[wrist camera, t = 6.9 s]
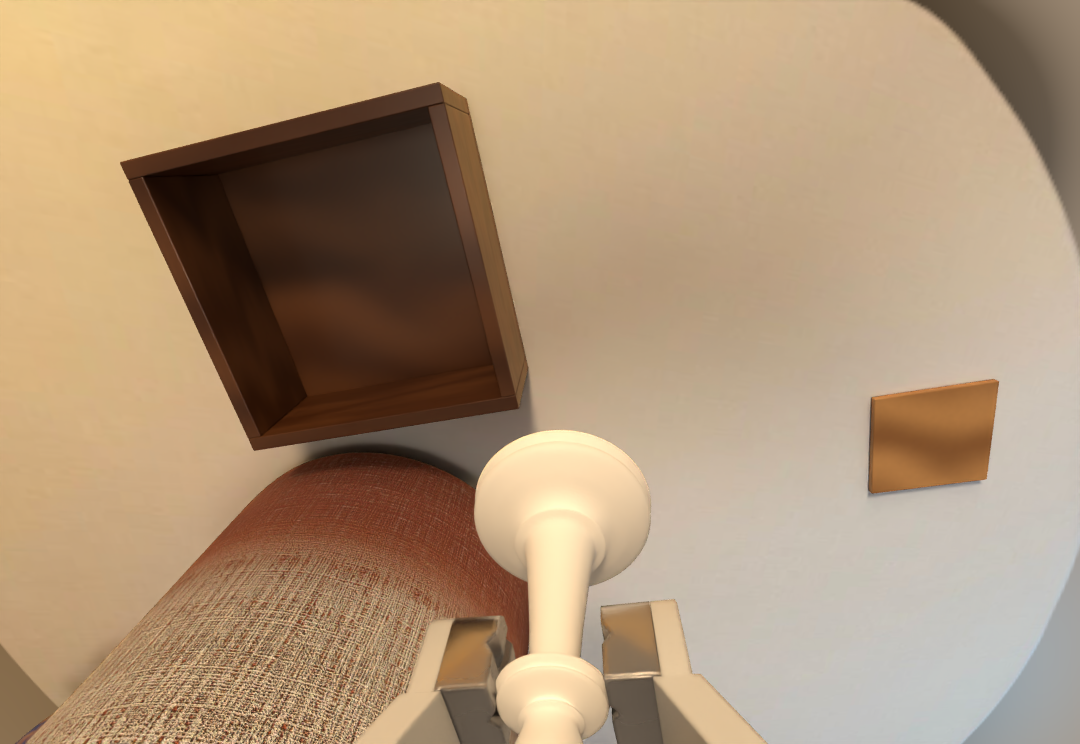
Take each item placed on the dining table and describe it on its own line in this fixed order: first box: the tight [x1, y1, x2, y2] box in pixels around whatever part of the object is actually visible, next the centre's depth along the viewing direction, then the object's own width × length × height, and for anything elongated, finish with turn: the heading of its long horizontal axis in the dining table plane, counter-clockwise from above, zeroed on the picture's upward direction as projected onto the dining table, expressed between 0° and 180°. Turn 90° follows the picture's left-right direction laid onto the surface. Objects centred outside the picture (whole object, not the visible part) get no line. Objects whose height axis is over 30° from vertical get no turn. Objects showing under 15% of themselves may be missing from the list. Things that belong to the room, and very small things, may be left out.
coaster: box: [869, 379, 999, 494], centre depth 33 cm, size 7×7×1 cm
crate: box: [120, 82, 528, 451], centre depth 28 cm, size 16×16×6 cm
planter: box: [26, 452, 529, 744], centre depth 30 cm, size 22×22×20 cm
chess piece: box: [474, 430, 651, 744], centre depth 10 cm, size 5×5×10 cm
